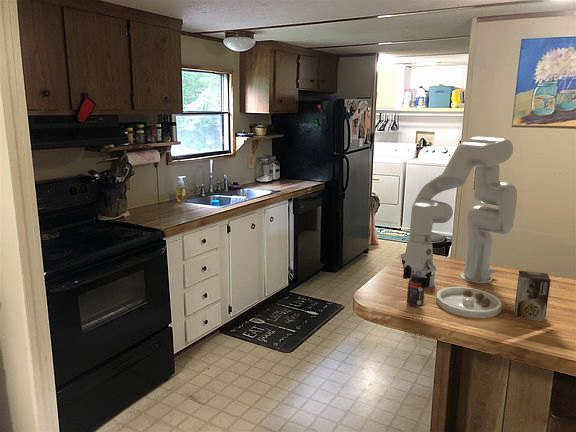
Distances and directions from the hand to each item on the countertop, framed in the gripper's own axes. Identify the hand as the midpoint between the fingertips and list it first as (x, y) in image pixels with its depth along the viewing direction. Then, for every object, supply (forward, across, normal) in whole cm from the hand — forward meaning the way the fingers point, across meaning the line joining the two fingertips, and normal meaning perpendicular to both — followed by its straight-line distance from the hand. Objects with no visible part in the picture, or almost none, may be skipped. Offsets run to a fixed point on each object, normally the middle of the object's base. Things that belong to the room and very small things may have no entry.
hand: (415, 282), depth 170 cm
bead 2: (+7, -10, -23) cm, 26 cm away
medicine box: (+8, +12, -16) cm, 22 cm away
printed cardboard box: (+8, -26, -29) cm, 40 cm away
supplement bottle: (+9, 0, -1) cm, 9 cm away
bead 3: (+7, -14, -21) cm, 26 cm away
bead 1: (+7, -6, -21) cm, 23 cm away
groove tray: (+8, -10, -17) cm, 21 cm away
